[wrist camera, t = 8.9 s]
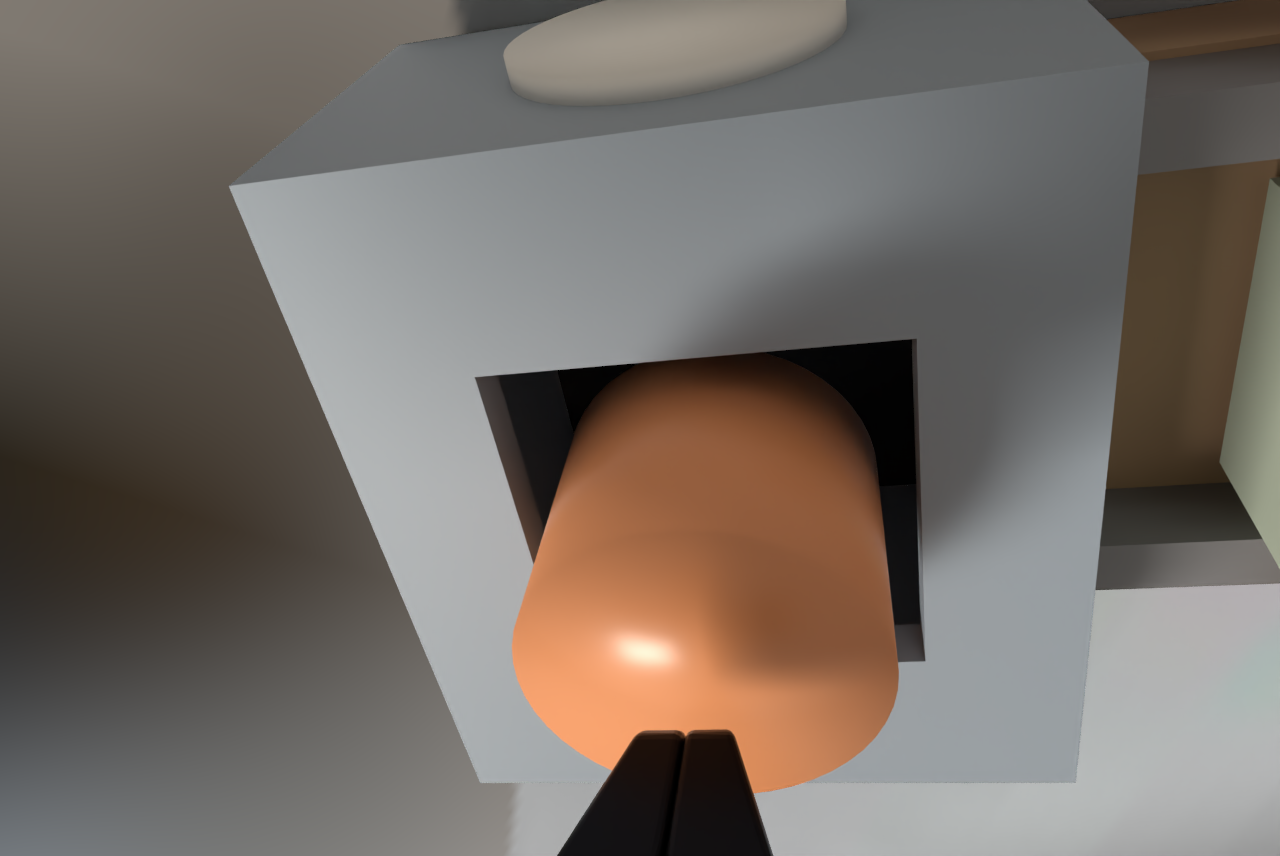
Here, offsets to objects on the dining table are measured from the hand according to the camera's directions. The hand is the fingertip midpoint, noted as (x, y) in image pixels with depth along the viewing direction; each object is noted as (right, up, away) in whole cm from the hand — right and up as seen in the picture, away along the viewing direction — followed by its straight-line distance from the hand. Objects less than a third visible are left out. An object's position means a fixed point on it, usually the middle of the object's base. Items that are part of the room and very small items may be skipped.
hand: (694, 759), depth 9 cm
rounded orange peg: (+1, +2, +3) cm, 4 cm away
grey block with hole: (+1, +5, +6) cm, 8 cm away
